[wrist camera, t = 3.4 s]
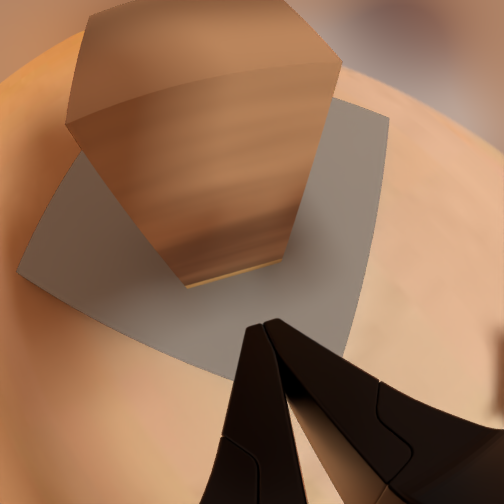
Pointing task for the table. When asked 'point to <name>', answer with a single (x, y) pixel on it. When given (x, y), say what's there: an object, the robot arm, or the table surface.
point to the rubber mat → (228, 289)
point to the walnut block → (204, 124)
